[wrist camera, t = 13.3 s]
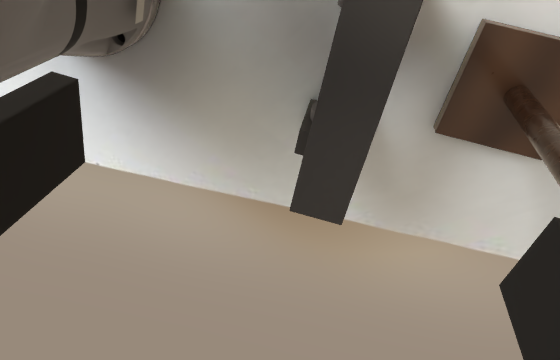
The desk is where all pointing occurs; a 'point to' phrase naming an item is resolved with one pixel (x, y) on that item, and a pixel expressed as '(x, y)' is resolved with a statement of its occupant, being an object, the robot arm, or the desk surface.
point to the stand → (508, 94)
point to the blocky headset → (350, 103)
